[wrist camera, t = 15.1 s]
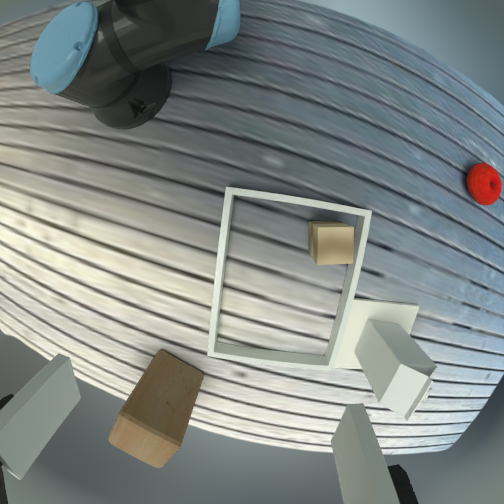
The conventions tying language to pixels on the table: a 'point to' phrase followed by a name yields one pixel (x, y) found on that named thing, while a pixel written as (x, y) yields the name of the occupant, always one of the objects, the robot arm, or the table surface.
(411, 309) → the tile
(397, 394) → the milk carton
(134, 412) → the wooden block
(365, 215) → the rectangular frame
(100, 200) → the table surface
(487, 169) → the apple
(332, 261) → the oak block
